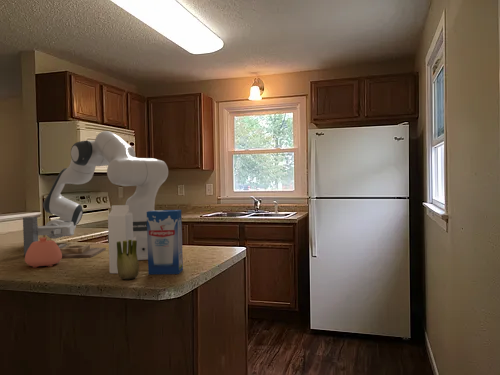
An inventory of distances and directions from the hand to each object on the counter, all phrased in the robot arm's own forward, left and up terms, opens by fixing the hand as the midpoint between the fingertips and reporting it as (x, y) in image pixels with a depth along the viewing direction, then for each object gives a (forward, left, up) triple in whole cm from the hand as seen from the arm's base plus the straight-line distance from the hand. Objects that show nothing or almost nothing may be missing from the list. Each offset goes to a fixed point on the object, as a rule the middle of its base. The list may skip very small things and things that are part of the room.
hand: (41, 232), depth 188 cm
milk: (-48, +48, -9) cm, 68 cm away
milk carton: (-63, +51, -9) cm, 81 cm away
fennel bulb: (-53, +59, -9) cm, 79 cm away
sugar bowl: (-15, +32, -9) cm, 36 cm away
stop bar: (0, +10, -8) cm, 13 cm away
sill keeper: (-18, +10, -8) cm, 22 cm away
